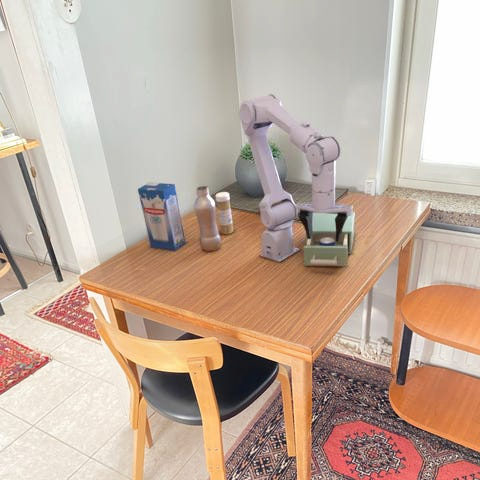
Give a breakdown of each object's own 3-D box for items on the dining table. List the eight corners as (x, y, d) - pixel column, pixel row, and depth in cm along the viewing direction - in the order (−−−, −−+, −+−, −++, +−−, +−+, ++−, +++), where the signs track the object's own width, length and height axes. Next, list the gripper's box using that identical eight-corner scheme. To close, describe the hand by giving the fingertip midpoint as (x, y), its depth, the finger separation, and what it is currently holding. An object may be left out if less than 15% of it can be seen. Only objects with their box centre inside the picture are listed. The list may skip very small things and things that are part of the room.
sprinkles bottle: (228, 228, 168) (223, 190, 160) (236, 231, 165) (231, 193, 157) (217, 232, 165) (212, 194, 158) (225, 236, 162) (220, 197, 155)
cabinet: (351, 254, 142) (351, 231, 138) (306, 253, 145) (305, 231, 141) (354, 233, 153) (354, 212, 149) (312, 233, 157) (311, 212, 153)
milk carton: (150, 247, 161) (137, 188, 150) (161, 239, 166) (149, 182, 155) (175, 250, 157) (163, 190, 146) (185, 242, 161) (174, 184, 150)
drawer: (345, 274, 131) (346, 256, 128) (301, 273, 134) (301, 255, 131) (350, 245, 145) (350, 227, 142) (310, 244, 148) (309, 227, 145)
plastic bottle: (219, 253, 152) (210, 191, 141) (198, 253, 153) (188, 192, 142) (223, 244, 157) (215, 184, 146) (204, 244, 159) (194, 184, 147)
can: (337, 253, 139) (337, 239, 137) (328, 259, 137) (328, 244, 134) (325, 250, 142) (325, 235, 139) (316, 255, 140) (316, 241, 137)
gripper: (356, 184, 121) (354, 234, 129) (301, 182, 127) (302, 230, 134) (349, 194, 116) (348, 246, 123) (291, 191, 122) (294, 241, 129)
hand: (323, 238), depth 129 cm, fingers open, 7 cm apart
